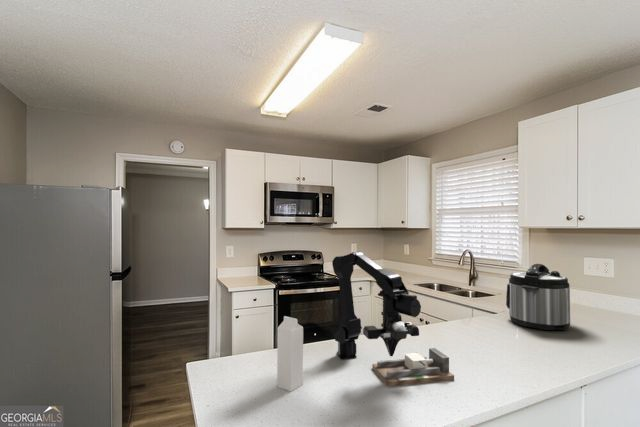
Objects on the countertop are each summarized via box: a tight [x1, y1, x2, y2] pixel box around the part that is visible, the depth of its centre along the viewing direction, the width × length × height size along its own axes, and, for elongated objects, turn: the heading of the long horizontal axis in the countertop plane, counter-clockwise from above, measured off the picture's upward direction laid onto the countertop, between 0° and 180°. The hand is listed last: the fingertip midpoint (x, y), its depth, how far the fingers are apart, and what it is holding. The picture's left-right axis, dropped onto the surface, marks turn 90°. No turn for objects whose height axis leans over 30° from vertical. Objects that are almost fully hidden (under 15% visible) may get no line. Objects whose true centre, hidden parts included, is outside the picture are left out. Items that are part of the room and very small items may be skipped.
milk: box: [276, 315, 304, 393], centre depth 109 cm, size 6×6×22 cm
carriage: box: [404, 352, 433, 369], centre depth 117 cm, size 9×10×4 cm
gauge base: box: [371, 347, 455, 387], centre depth 118 cm, size 24×14×6 cm, turn 102°
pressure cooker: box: [505, 263, 571, 331], centre depth 178 cm, size 30×28×32 cm
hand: (391, 355), depth 116 cm, fingers closed
